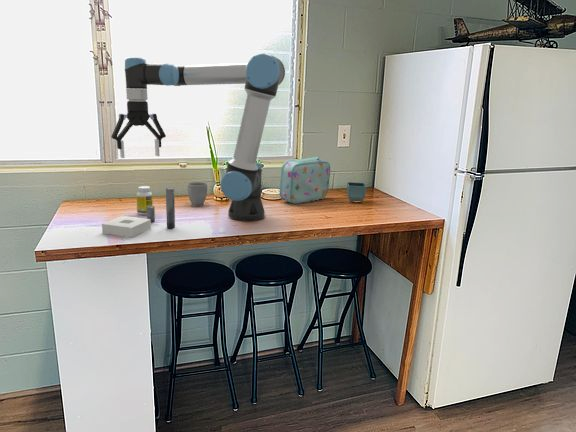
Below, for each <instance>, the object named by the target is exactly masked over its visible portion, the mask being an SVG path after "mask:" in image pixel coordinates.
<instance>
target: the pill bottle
mask: <svg viewBox="0 0 576 432" xmlns="http://www.w3.org/2000/svg"><path fill="white" fill-rule="evenodd" d="M137 189H138V192H137V193H136V213H137V214H138V215H141V216H144V215H145V216H147V209H146V207H147V206H154V205H153V193H152V192H151V186H149V185H141V186H138V188H137Z"/></svg>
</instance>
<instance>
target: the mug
mask: <svg viewBox="0 0 576 432" xmlns="http://www.w3.org/2000/svg"><path fill="white" fill-rule="evenodd" d="M186 185H187V186H186V187H187V195H188V199H189V201H190V204H191V205H192V207H193V206H194V207H200V206H201V207H202V206H204V205H205V201H206V198H207V195H208V183H207V182H204V181H192V182H187V184H186Z"/></svg>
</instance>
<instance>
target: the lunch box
mask: <svg viewBox="0 0 576 432" xmlns="http://www.w3.org/2000/svg"><path fill="white" fill-rule="evenodd" d="M330 177H331V164H330V163H329V162H328V161H326V160H323V159H321V158H320V157H318V156H313V157H307V158H298V159H287V160H286V161H284V162H283V164H282V166H281V171H280V183H279V196H280V199H281V200H282V201H287V202H288V203H291V204H294V205H297V204H304V203H312V202H311V201H313V202H315V200H317V201H320V200H319V199H322V198H324V199H325V198H326V196H327V195H328V191H329V187H330V186H329V185H330ZM322 200H323V199H322ZM303 202H304V203H303Z"/></svg>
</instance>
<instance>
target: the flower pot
mask: <svg viewBox="0 0 576 432" xmlns="http://www.w3.org/2000/svg"><path fill="white" fill-rule="evenodd" d="M367 188H368V186H367V185H366V184H365V182H353V181H351V182H350V181H347V182H346V193H347V198H348V200H349V202H350V201H362V202H363V201H364V199H365V197H366V193H367Z"/></svg>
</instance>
